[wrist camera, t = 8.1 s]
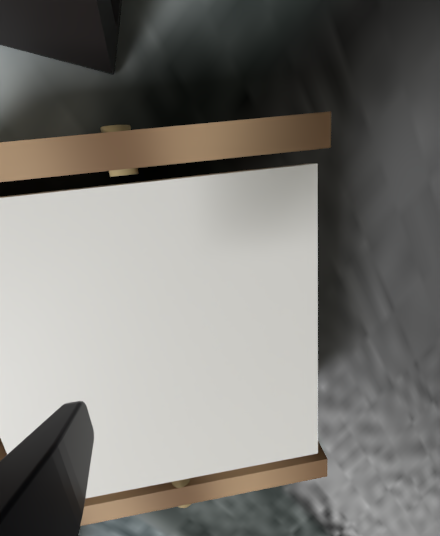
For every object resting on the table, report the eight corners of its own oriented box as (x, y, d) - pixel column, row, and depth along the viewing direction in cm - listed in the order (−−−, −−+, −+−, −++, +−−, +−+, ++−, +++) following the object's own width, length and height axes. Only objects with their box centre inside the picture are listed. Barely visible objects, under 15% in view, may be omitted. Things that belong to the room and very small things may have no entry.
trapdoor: (291, 163, 14) (317, 163, 12) (298, 412, 19) (317, 453, 16) (-40, 198, 13) (-94, 208, 11) (51, 457, 18) (29, 509, 15)
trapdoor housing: (276, 125, 17) (331, 105, 11) (286, 395, 23) (327, 479, 17) (-43, 156, 16) (-179, 151, 10) (52, 436, 22) (3, 544, 15)
